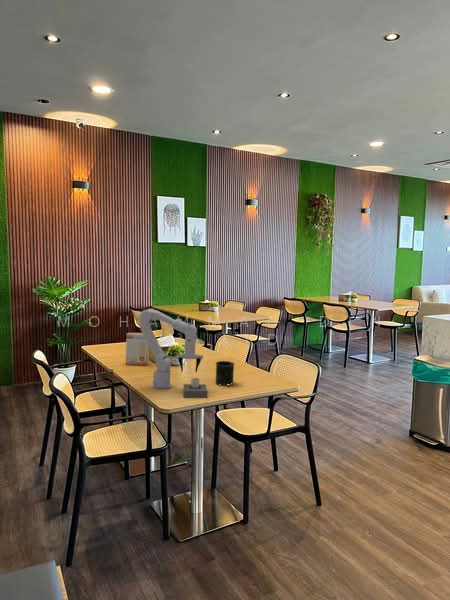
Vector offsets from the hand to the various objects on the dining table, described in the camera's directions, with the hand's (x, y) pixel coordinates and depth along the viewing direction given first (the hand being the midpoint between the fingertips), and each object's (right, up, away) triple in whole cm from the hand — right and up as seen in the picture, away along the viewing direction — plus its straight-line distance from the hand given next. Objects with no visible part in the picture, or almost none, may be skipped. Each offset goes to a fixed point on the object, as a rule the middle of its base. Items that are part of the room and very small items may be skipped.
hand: (189, 371), depth 247 cm
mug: (+18, -9, +15) cm, 25 cm away
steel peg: (+4, -10, -9) cm, 14 cm away
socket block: (+4, -10, -9) cm, 14 cm away
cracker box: (-38, -4, +51) cm, 64 cm away
